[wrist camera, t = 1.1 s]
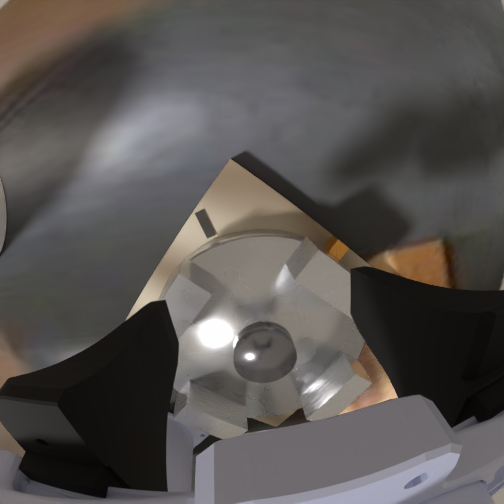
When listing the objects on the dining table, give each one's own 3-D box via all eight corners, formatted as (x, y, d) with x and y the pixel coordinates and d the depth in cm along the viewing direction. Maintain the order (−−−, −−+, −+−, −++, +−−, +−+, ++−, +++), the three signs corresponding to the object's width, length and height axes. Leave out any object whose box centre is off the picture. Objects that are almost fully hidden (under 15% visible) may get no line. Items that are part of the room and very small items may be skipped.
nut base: (275, 419, 26) (276, 427, 25) (113, 341, 22) (109, 349, 21) (399, 290, 23) (406, 296, 22) (230, 158, 19) (230, 159, 18)
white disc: (275, 420, 25) (282, 457, 21) (124, 348, 21) (108, 386, 17) (400, 291, 21) (430, 318, 17) (244, 168, 18) (250, 172, 13)
